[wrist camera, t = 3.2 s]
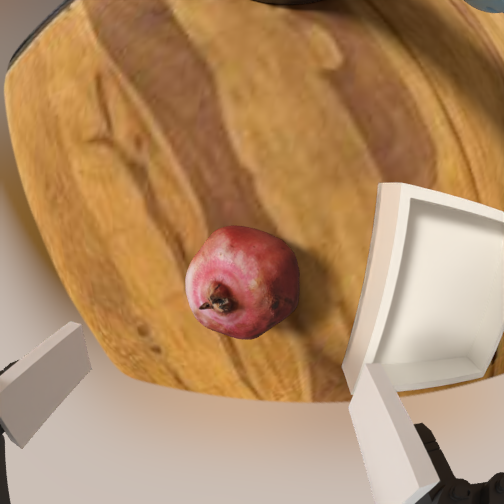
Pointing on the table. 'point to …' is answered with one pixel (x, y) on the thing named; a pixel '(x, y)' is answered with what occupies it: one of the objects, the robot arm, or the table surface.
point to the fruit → (242, 282)
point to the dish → (429, 290)
